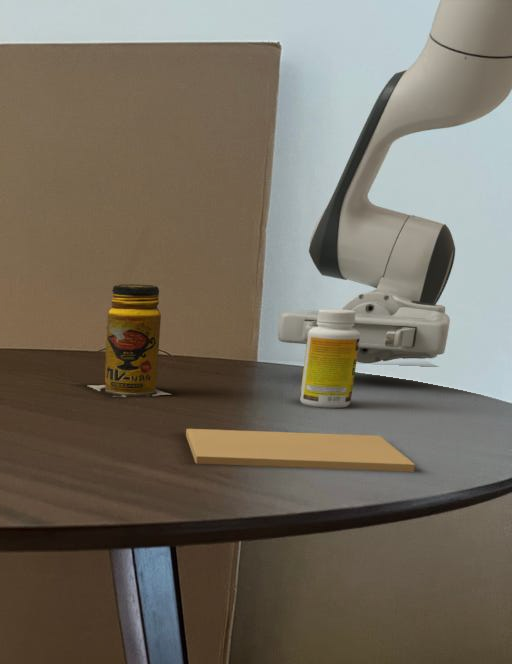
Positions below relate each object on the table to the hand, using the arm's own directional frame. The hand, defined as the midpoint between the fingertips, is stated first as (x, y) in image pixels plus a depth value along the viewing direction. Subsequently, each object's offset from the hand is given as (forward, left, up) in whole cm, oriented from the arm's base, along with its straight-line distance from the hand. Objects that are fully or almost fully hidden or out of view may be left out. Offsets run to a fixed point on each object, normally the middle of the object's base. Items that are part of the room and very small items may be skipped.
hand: (350, 336), depth 122 cm
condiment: (+26, +4, -7) cm, 27 cm away
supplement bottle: (+4, +9, -7) cm, 12 cm away
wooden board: (+12, +36, -7) cm, 39 cm away
